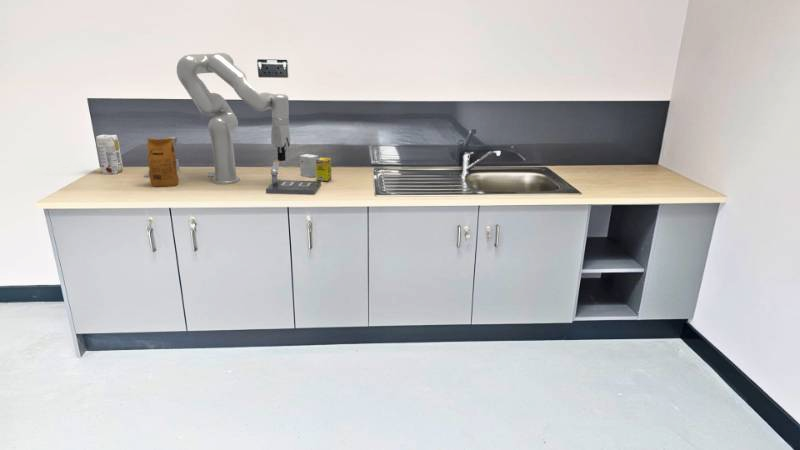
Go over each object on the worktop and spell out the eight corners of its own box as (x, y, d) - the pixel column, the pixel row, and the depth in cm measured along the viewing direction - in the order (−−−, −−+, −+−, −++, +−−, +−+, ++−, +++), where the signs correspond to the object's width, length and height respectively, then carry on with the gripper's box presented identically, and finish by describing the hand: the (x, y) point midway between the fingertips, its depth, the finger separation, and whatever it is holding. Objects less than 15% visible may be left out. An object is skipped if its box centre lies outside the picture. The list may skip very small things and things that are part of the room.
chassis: (266, 193, 225) (265, 179, 223) (275, 184, 241) (274, 170, 238) (314, 194, 225) (314, 180, 223) (321, 185, 240) (320, 172, 238)
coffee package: (154, 181, 240) (147, 136, 232) (181, 181, 242) (175, 136, 234) (147, 187, 231) (140, 140, 223) (176, 187, 232) (169, 139, 225)
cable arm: (277, 175, 229) (277, 170, 229) (270, 175, 229) (270, 170, 228) (280, 165, 248) (279, 160, 248) (273, 165, 248) (273, 160, 247)
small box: (319, 175, 257) (318, 155, 254) (312, 177, 253) (311, 157, 249) (307, 173, 261) (306, 153, 258) (300, 175, 257) (299, 155, 253)
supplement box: (328, 182, 245) (327, 160, 241) (316, 181, 246) (315, 159, 243) (331, 179, 251) (331, 158, 247) (320, 178, 252) (319, 157, 248)
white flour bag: (117, 174, 251) (110, 136, 245) (100, 174, 251) (93, 136, 245) (125, 171, 258) (119, 134, 252) (108, 170, 258) (102, 133, 252)
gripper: (265, 120, 235) (266, 158, 241) (282, 124, 225) (283, 164, 231) (279, 119, 240) (280, 156, 246) (296, 123, 230) (297, 162, 236)
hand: (281, 160), depth 238 cm, fingers closed
